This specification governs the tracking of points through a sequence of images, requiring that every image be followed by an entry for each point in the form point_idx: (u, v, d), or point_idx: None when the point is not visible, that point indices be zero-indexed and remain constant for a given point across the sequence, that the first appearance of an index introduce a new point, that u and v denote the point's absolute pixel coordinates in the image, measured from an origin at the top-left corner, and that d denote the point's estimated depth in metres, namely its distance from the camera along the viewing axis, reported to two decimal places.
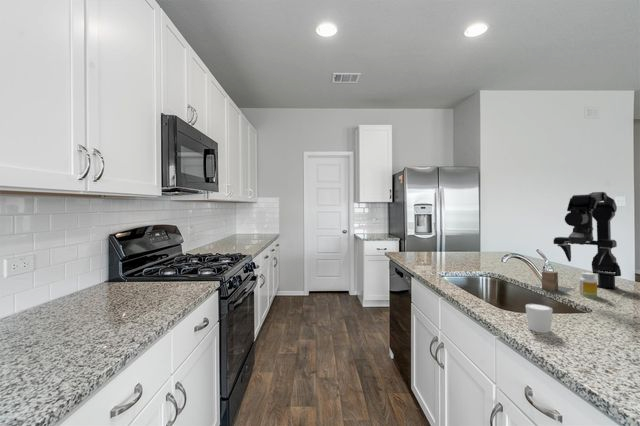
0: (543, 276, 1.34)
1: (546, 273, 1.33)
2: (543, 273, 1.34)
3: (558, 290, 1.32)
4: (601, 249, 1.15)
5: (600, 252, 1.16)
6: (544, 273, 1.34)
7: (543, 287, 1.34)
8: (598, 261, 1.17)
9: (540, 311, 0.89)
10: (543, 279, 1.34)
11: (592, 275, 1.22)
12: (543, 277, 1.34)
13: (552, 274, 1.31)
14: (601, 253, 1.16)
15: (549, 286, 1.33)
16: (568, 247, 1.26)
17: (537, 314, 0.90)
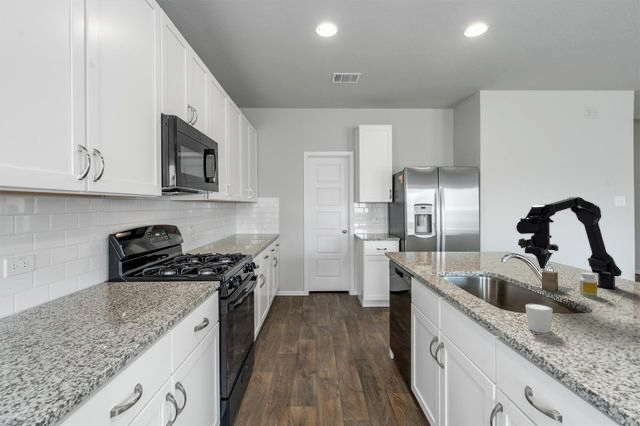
0: (543, 276, 1.34)
1: (546, 273, 1.33)
2: (543, 273, 1.34)
3: (558, 290, 1.32)
4: None
5: None
6: (544, 273, 1.34)
7: (543, 287, 1.34)
8: None
9: (540, 311, 0.89)
10: (543, 279, 1.34)
11: (592, 275, 1.22)
12: (543, 277, 1.34)
13: (552, 274, 1.31)
14: None
15: (549, 286, 1.33)
16: None
17: (537, 314, 0.90)
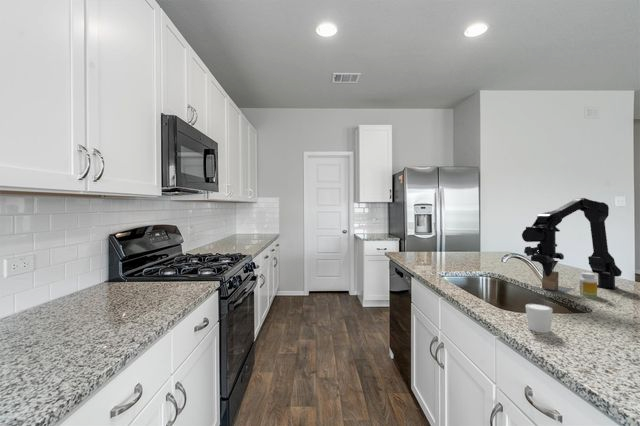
0: (544, 275, 1.35)
1: None
2: (544, 272, 1.35)
3: (558, 290, 1.32)
4: None
5: None
6: None
7: (543, 286, 1.35)
8: None
9: (540, 311, 0.89)
10: (544, 278, 1.35)
11: (592, 275, 1.22)
12: (544, 276, 1.35)
13: (553, 273, 1.32)
14: None
15: (549, 284, 1.33)
16: (548, 263, 1.33)
17: (537, 314, 0.90)
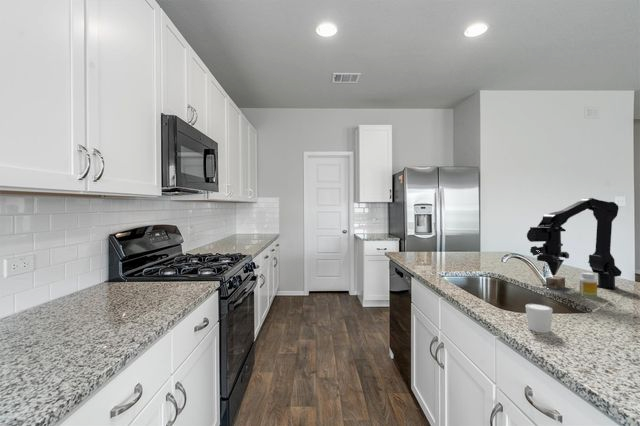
0: None
1: (557, 276, 1.40)
2: (554, 276, 1.41)
3: (558, 290, 1.32)
4: None
5: None
6: (555, 276, 1.40)
7: (548, 278, 1.37)
8: None
9: (540, 311, 0.89)
10: None
11: (592, 275, 1.22)
12: None
13: (563, 277, 1.38)
14: None
15: (555, 278, 1.36)
16: (554, 262, 1.36)
17: (537, 314, 0.90)
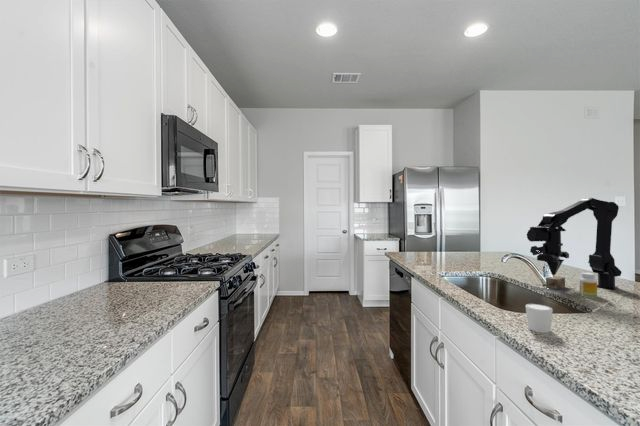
0: None
1: (557, 276, 1.40)
2: (554, 276, 1.41)
3: (558, 290, 1.32)
4: None
5: None
6: (555, 276, 1.40)
7: (548, 278, 1.37)
8: None
9: (540, 311, 0.89)
10: None
11: (592, 275, 1.22)
12: None
13: (563, 277, 1.38)
14: None
15: (555, 278, 1.36)
16: (554, 261, 1.36)
17: (537, 314, 0.90)
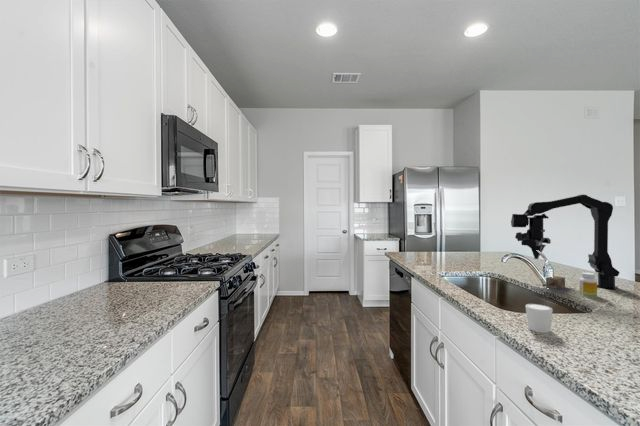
0: None
1: (557, 276, 1.40)
2: (554, 276, 1.41)
3: (558, 290, 1.32)
4: None
5: None
6: (555, 276, 1.40)
7: (548, 278, 1.37)
8: None
9: (540, 311, 0.89)
10: None
11: (592, 275, 1.22)
12: None
13: (563, 277, 1.38)
14: None
15: (555, 278, 1.36)
16: None
17: (537, 314, 0.90)
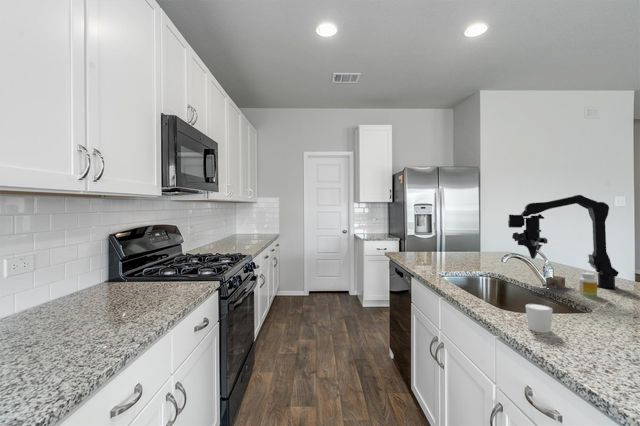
0: None
1: (557, 276, 1.40)
2: (554, 276, 1.41)
3: (558, 290, 1.32)
4: None
5: None
6: (555, 276, 1.40)
7: (548, 278, 1.37)
8: None
9: (540, 311, 0.89)
10: None
11: (592, 275, 1.22)
12: None
13: (563, 277, 1.38)
14: None
15: (555, 278, 1.36)
16: None
17: (537, 314, 0.90)
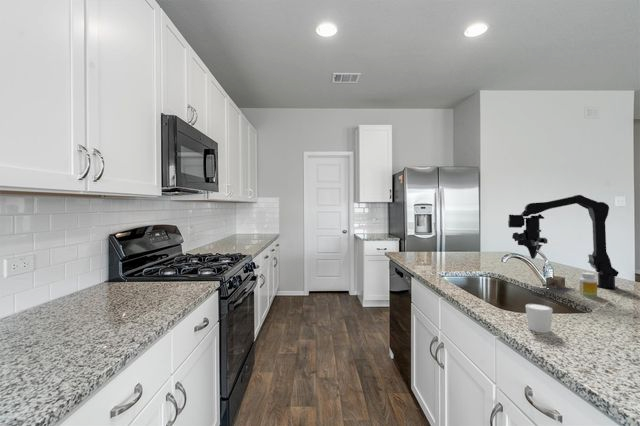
0: None
1: (557, 276, 1.40)
2: (554, 276, 1.41)
3: (558, 290, 1.32)
4: None
5: None
6: (555, 276, 1.40)
7: (548, 278, 1.37)
8: None
9: (540, 311, 0.89)
10: None
11: (592, 275, 1.22)
12: None
13: (563, 277, 1.38)
14: None
15: (555, 278, 1.36)
16: None
17: (537, 314, 0.90)
